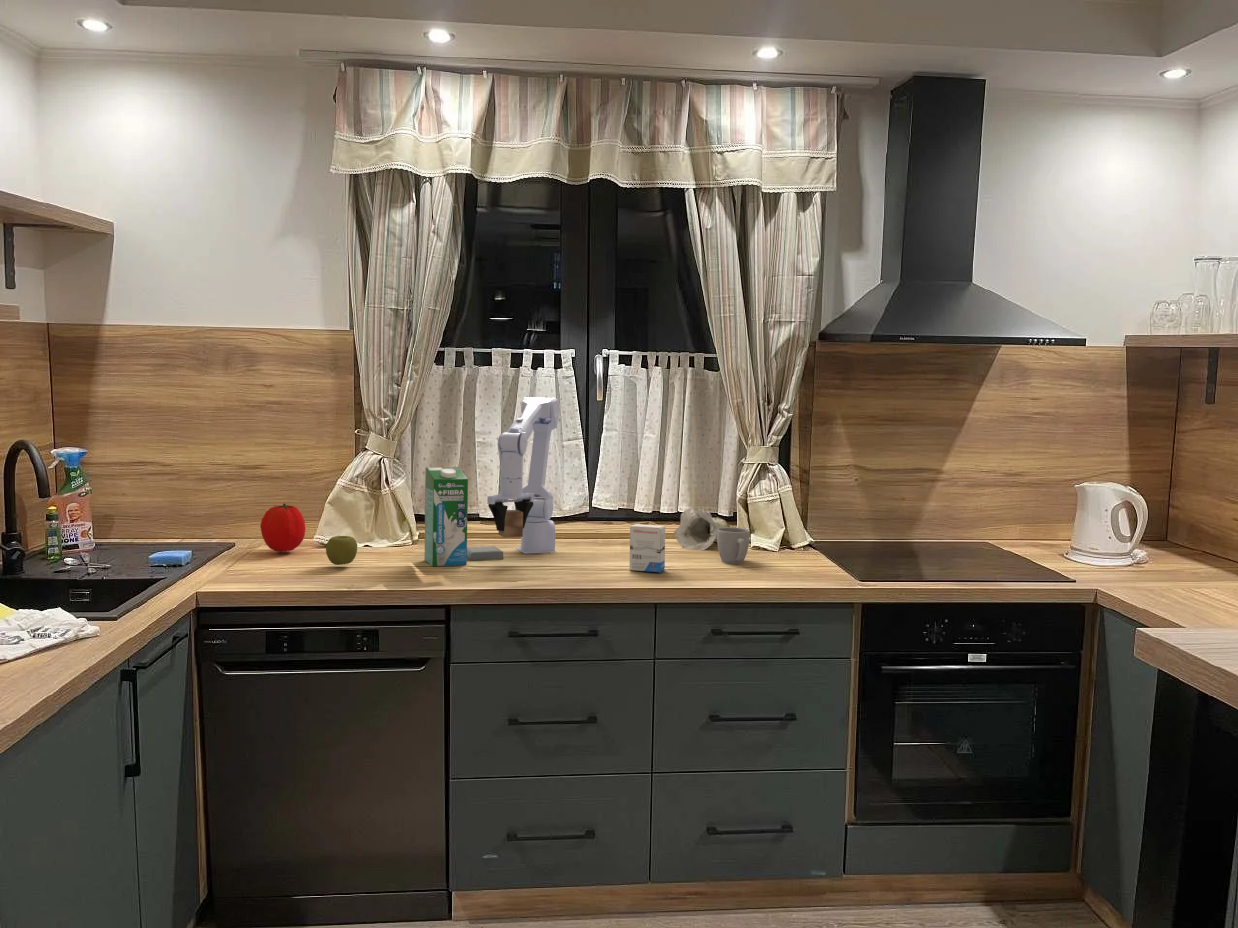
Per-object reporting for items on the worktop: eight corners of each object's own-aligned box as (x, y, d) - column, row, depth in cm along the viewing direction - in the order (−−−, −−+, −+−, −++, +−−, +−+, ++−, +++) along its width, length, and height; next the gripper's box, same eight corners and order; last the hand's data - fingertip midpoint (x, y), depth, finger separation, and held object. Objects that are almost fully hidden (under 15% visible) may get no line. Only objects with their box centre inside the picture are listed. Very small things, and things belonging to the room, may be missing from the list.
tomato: (305, 546, 262) (305, 500, 261) (305, 554, 250) (305, 506, 249) (261, 548, 258) (261, 500, 257) (259, 556, 247) (259, 506, 246)
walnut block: (516, 533, 248) (516, 509, 248) (522, 536, 244) (523, 512, 243) (498, 534, 246) (499, 510, 246) (504, 537, 242) (504, 512, 241)
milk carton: (432, 566, 239) (433, 470, 237) (424, 560, 248) (425, 466, 245) (466, 564, 243) (468, 469, 241) (457, 558, 251) (458, 466, 249)
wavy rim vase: (704, 558, 267) (726, 561, 283) (721, 517, 266) (743, 522, 282) (669, 542, 272) (693, 545, 288) (686, 501, 271) (709, 507, 287)
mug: (711, 561, 257) (712, 527, 256) (741, 561, 260) (742, 527, 259) (726, 570, 246) (728, 534, 245) (758, 569, 248) (759, 534, 247)
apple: (345, 568, 234) (345, 540, 234) (319, 565, 237) (319, 537, 237) (363, 563, 242) (363, 535, 241) (337, 560, 244) (337, 533, 244)
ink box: (665, 569, 244) (666, 525, 243) (659, 573, 240) (661, 528, 239) (634, 566, 247) (635, 522, 246) (628, 570, 243) (629, 525, 242)
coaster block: (493, 554, 261) (494, 545, 261) (503, 560, 253) (503, 551, 253) (462, 556, 257) (462, 547, 257) (470, 562, 249) (470, 552, 249)
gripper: (522, 475, 252) (521, 524, 253) (480, 478, 241) (479, 530, 242) (539, 477, 247) (538, 528, 248) (497, 480, 236) (496, 533, 238)
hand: (510, 529), depth 245 cm, fingers closed on walnut block, 6 cm apart
